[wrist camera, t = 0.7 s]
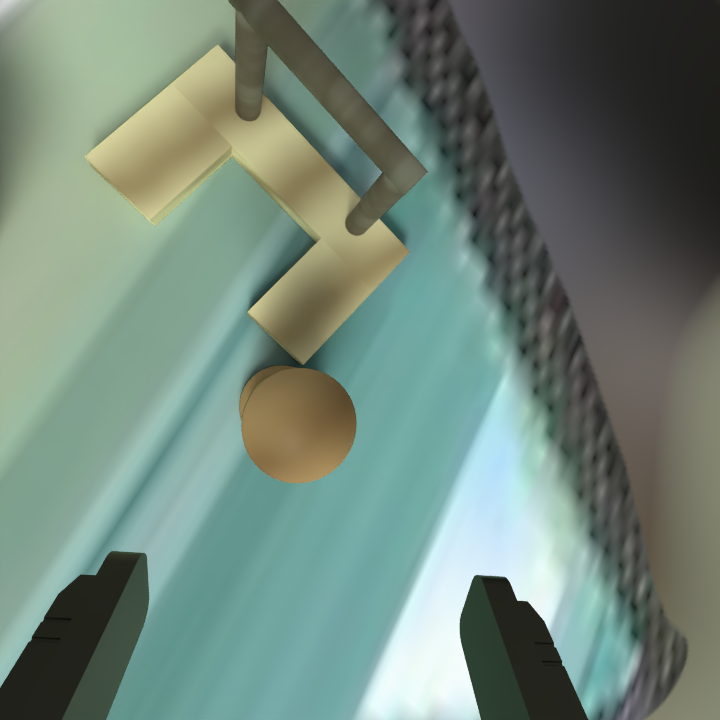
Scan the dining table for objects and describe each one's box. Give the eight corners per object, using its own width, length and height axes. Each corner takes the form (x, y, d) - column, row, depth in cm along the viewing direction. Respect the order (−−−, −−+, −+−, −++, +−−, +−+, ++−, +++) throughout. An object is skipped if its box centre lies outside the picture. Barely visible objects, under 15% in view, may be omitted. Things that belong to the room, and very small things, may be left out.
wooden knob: (221, 408, 31) (216, 431, 22) (279, 348, 32) (298, 344, 23) (282, 462, 33) (303, 506, 23) (336, 402, 34) (378, 420, 24)
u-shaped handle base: (92, 167, 29) (2, 45, 18) (218, 59, 31) (209, -112, 20) (300, 364, 33) (335, 367, 21) (402, 256, 35) (484, 207, 23)
